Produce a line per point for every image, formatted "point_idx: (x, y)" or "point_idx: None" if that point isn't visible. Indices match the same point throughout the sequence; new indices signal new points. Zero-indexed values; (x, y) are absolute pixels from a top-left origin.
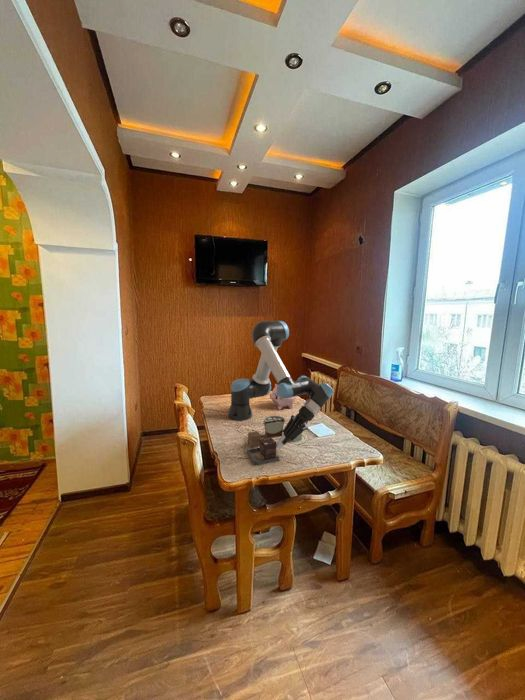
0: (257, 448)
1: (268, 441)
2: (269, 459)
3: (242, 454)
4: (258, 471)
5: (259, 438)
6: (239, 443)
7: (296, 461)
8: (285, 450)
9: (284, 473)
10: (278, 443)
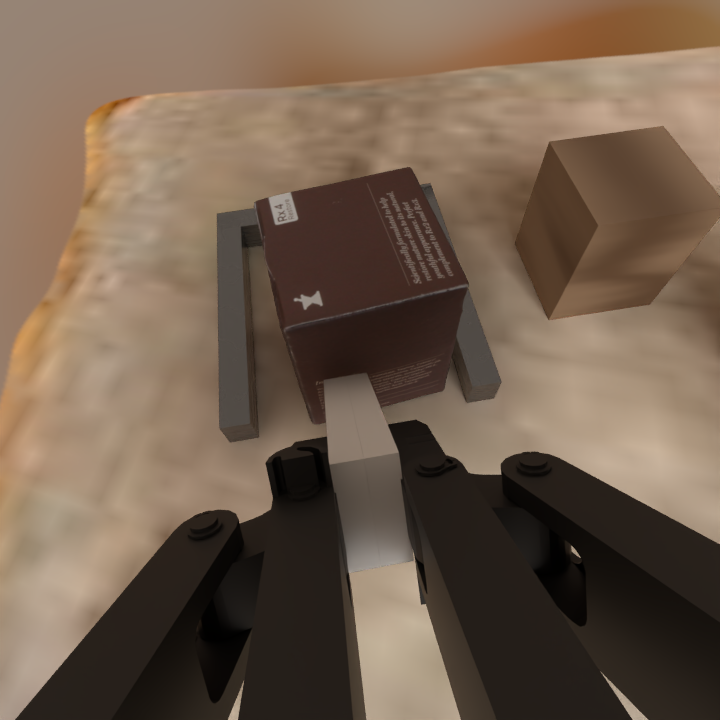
0: None
1: (330, 239)
2: (218, 326)
3: None
4: (139, 251)
5: (575, 246)
6: None
7: None
8: None
9: (7, 435)
10: (337, 395)
